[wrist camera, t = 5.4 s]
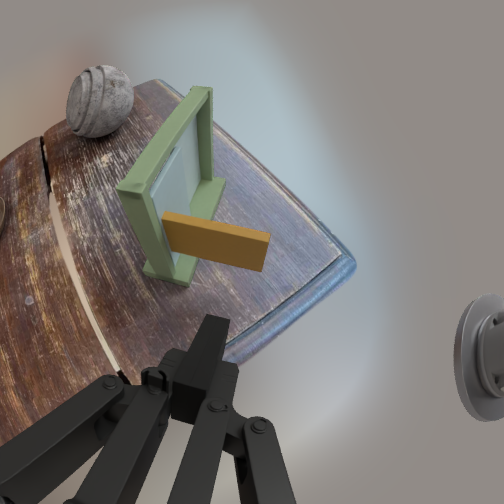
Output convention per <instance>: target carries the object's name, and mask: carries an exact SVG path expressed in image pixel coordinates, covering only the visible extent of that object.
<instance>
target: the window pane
mask: <svg viewBox="0 0 504 504" xmlns="http://www.w3.org/2000/svg"><path fill="white" fill-rule="evenodd" d="M149 193H150V196H151V199H152V202H153V206H154V209H155V212H156V215H157V218H158V221H159V224H160V227H161V230H162V233H163V236H164V239H165V242H166V245H167V248H168V251H169V254H170V257H171V259H172V262H173V265H174V267H175V266H176V263H177V261H178V258H179V255H180V253H181V254H185V255H189V256H194V257H198V258H202V259H206V260H210V261H215V262H219V263H223V264H228V265H232V266H236V267H240V268H245V269H249V270H254V271H258V272H262V268H263V264H264V260H265V256H266V252H267V248H268V244H269V240H270V235H271V234H270V233H266V232H262V231H257V230H253V229H248V228H244V227H239V226H235V225H230V224H226V223H221V222H216V221H212V220H207V219H202V218H197V217H193V216H191V212H190V206H189V200H188V193H187V186H186V180H185V172H184V165H183V158H182V150H181V147H175V149H174V150H173V152H172V153H171V155H170V157H169V158H168V160H167V161H166V163H165V165H164V166H163V168H162V170H161V171H160V173H159V175H158V176H157V178H156V180H155V182H154V183H153V185H152V187H151V189H150V190H149Z"/></svg>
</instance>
